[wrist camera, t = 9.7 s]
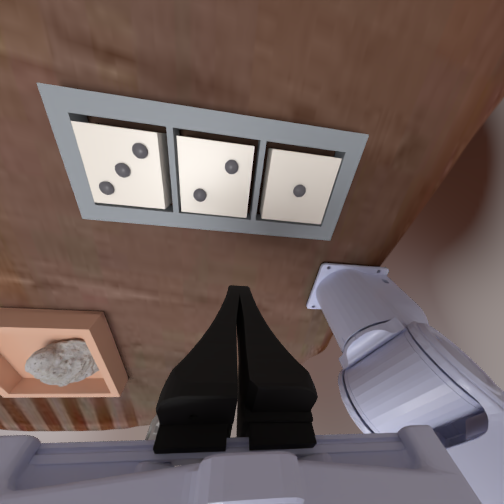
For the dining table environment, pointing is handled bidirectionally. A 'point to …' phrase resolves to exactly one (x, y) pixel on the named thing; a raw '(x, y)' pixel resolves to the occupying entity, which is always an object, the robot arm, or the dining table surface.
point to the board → (175, 118)
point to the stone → (62, 363)
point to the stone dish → (53, 331)
